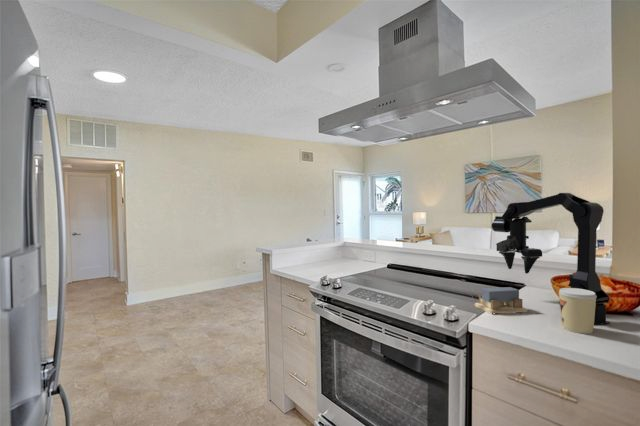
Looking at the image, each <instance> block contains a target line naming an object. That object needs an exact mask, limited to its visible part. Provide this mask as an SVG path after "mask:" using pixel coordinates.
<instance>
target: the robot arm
mask: <svg viewBox="0 0 640 426" xmlns="http://www.w3.org/2000/svg"><path fill="white" fill-rule="evenodd" d="M558 206H561V207H563V208H564V209H565V210H566V211H568V212H569V213H571V214H572V219H573V220H572V221H573V222H574V224H575V226H576V228H577V260H576V262H577V263H576V264H577V265H576V272H575V273H572V274H569V275H568V280H569V284H568V287H569V288H578V289H585V290H589V291H592V292H594V293H595V294H596V296H597V298H596V306H595V318H594V326H596V325H608V324H611V322H610V321H608V320H607V305H606V304H608V303H609V302H610V300H611V297H610V296H609V295H608V294H607V293H606V291H604V289H603V288H602V284H601V280H600V278H599V276H598V273H597V272H596V262H597V261H596V260H597V259H596V256H597V229H598V227H599V225H600V224H601V222H602V219H603V216H604V208H603V206H602V205H601V204H599V203H597V202H592V201H589V200H586V199H584V198H582V197H579V196H576V195H574V194H573V193H570V192H559V193H557V194H554V195H550V196H546V197H541V198H539V199H535V200H531V201H523V202H522V201H521V202H510V203H509V204H508V206H507V207H506V210H505V211H504V213H503V214H502V216H501V215H500V216H499V215H496V216H495V217H494V219H493V221H492V223H491V229H492V230H493V231H494V232H497V233H509V235H506V239H505V240H502V241H499V242H497V243H496V244H495V245H496V252H498V253H499V254H501V256H503V258H504V260H505V263H506V266H507V269H508V270H512V268H513V265H514V260H515V255H516V253H518V254H521V255H522V256H521V257H520V258H521V259H522V260H523V266H524V268H523V269H524V274H529V273H530V271H531V269H532V267H533V266H534V264H535V263H536V261H537V260H538V259H540V258H541V257H543V251H542V249H541V248H534V247H529V245H527V239H529V236H528V235H527V223H532V220H531V219H529V217H528V216H529V215H531V214H533V213H534V212H537V211H541V210H544V209H550V208H553V207H558Z"/></svg>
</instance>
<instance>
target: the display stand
mask: <svg viewBox="0 0 640 426" xmlns="http://www.w3.org/2000/svg"><path fill="white" fill-rule="evenodd" d="M474 306H475V307H476V308H479V309H481V310H482V311H483V312H486V313H488V312H490V313H506V314H514V313H513V312H522V313H527V312H528V308H526V307H523V298H519V299H513V301H505V302H500V300H491V302H487V301H485V300H483V299H482V294H478V302H474ZM490 313H489V314H490Z"/></svg>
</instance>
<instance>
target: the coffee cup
mask: <svg viewBox="0 0 640 426" xmlns="http://www.w3.org/2000/svg"><path fill="white" fill-rule="evenodd" d="M558 294H559V295H558V296H559V309H560V310H559V311H560V319H561V320H560V321H561V327H562V328H563V330H567V331H569V332H572V333H576V334H584V335H585V334H587V335H590V334H592V333H593V332H594V329H595V325H594V318H595V306H596V298H597V296H596V294H595V293H594V292H592V291H589V290H585V289H578V288H570V287H561V288H559V290H558ZM593 334H594V333H593Z"/></svg>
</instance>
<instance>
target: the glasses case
mask: <svg viewBox="0 0 640 426" xmlns="http://www.w3.org/2000/svg"><path fill="white" fill-rule="evenodd" d="M481 295H482V299H483V300H485V301H487V302H491V300H500V302H505V301H513V299H520V290H519V289H517V288H514V287H511V286H508V287H507V286H506V287H504V286H503V287H489V288H487V287H486V288H485V287H484V288H481Z"/></svg>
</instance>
